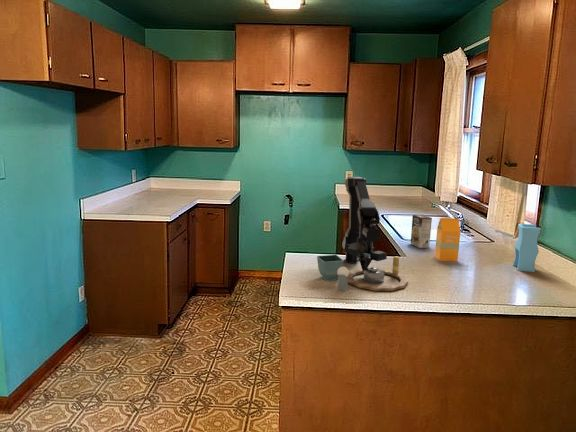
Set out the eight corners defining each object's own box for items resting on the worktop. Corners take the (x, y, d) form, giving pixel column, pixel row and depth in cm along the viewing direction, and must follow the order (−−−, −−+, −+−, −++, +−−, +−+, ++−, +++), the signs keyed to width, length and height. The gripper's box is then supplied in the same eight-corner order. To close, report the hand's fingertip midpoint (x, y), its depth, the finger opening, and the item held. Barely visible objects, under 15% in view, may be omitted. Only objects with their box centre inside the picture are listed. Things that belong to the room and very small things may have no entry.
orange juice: (457, 261, 224) (461, 220, 220) (439, 260, 224) (442, 219, 220) (452, 256, 231) (456, 216, 228) (434, 256, 232) (437, 216, 228)
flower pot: (323, 283, 190) (323, 261, 188) (316, 276, 198) (316, 255, 196) (343, 281, 192) (344, 260, 190) (335, 274, 200) (336, 254, 198)
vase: (535, 271, 210) (541, 228, 206) (516, 270, 211) (522, 227, 207) (530, 266, 217) (536, 224, 213) (512, 265, 219) (517, 223, 215)
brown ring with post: (356, 267, 209) (357, 249, 208) (412, 276, 199) (413, 257, 197) (338, 284, 188) (338, 264, 186) (399, 294, 177) (400, 274, 176)
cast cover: (366, 275, 200) (367, 263, 199) (386, 278, 196) (387, 266, 195) (360, 281, 193) (361, 269, 192) (380, 284, 189) (381, 272, 188)
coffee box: (409, 243, 255) (412, 214, 251) (420, 243, 256) (422, 214, 253) (419, 248, 246) (421, 217, 243) (429, 247, 248) (432, 217, 245)
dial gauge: (338, 287, 185) (339, 264, 183) (349, 289, 183) (350, 266, 182) (336, 289, 183) (336, 266, 181) (346, 291, 181) (347, 268, 179)
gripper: (336, 233, 197) (334, 269, 200) (370, 243, 183) (367, 281, 186) (354, 230, 204) (353, 264, 207) (388, 239, 190) (386, 276, 193)
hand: (364, 271), depth 198 cm, fingers closed
